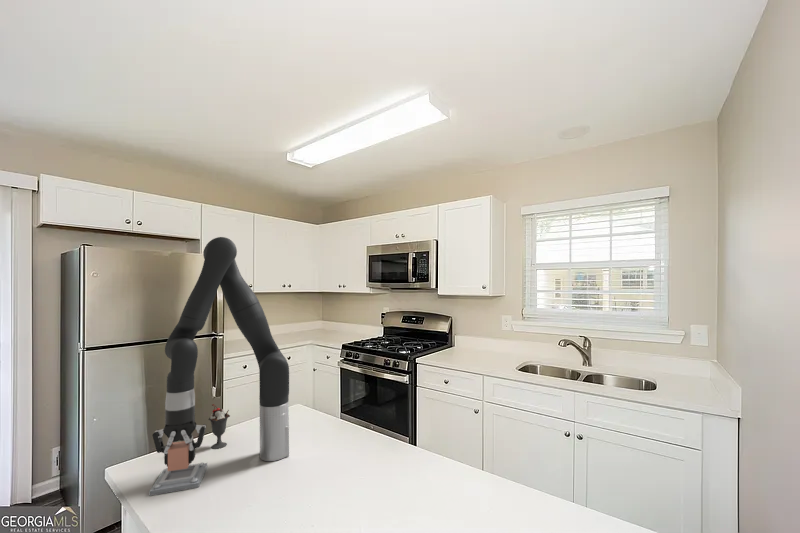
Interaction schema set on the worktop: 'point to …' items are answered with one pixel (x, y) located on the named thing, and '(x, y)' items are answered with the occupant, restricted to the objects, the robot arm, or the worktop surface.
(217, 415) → the sundae
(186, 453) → the block
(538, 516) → the worktop surface
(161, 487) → the plate
